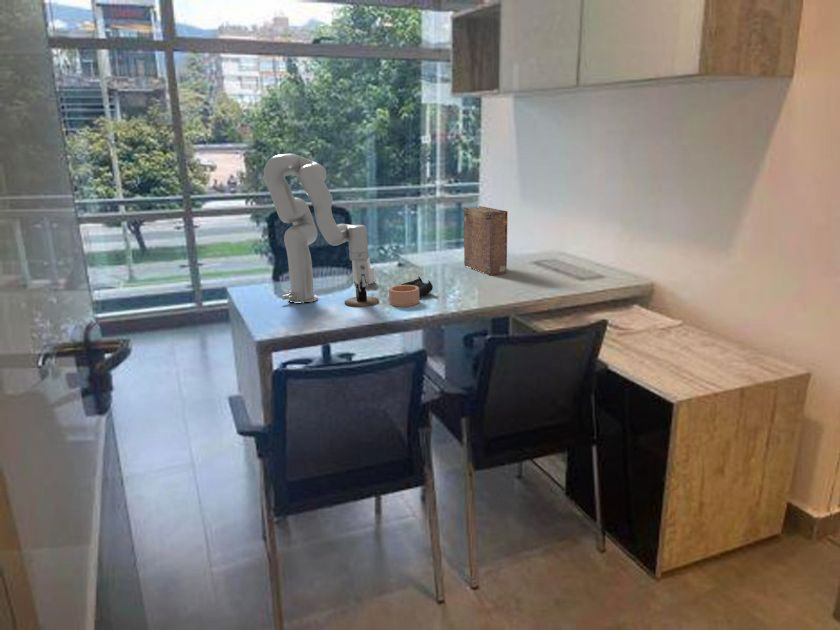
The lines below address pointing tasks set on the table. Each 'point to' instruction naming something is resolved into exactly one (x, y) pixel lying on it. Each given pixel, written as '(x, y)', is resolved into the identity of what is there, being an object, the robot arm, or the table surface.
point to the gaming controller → (421, 286)
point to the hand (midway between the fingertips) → (361, 299)
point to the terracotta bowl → (404, 295)
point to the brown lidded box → (485, 239)
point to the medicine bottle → (370, 273)
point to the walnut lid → (356, 303)
